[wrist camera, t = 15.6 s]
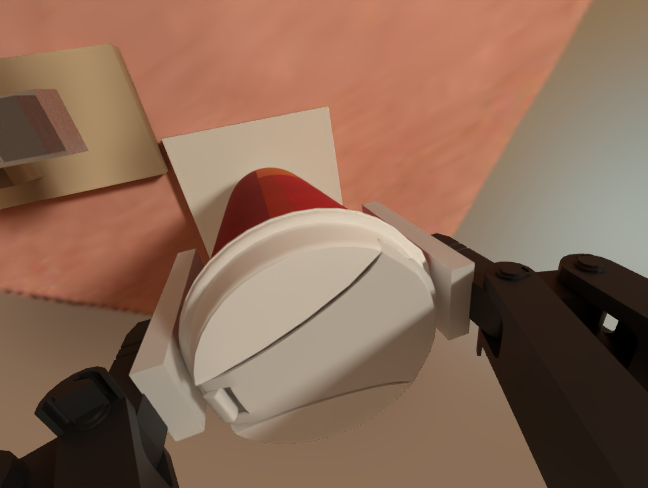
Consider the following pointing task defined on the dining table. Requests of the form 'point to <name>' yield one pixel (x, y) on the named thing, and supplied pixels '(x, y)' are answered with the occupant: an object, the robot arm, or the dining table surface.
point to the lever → (36, 128)
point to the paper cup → (305, 313)
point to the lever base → (82, 124)
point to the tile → (251, 161)
